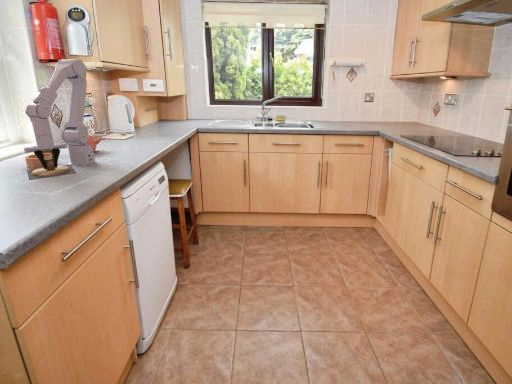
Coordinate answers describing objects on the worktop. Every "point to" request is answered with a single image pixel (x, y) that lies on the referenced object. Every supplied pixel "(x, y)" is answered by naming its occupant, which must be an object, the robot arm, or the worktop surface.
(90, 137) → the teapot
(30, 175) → the mat
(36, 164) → the bowl
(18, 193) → the worktop surface
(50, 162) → the lid
